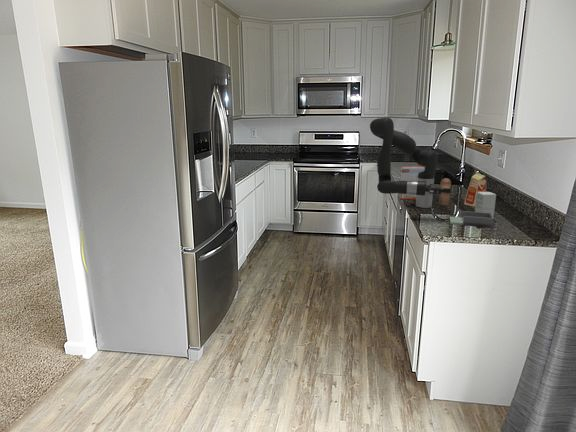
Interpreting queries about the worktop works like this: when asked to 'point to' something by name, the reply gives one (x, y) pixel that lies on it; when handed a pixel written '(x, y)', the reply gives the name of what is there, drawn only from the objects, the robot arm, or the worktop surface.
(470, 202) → the milk carton
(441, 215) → the worktop surface
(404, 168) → the cracker box
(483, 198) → the supplement box
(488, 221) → the cart bed
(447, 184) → the yam
